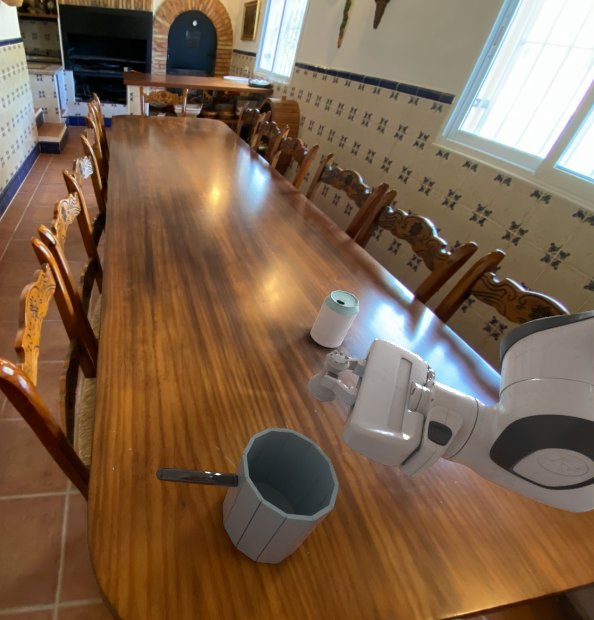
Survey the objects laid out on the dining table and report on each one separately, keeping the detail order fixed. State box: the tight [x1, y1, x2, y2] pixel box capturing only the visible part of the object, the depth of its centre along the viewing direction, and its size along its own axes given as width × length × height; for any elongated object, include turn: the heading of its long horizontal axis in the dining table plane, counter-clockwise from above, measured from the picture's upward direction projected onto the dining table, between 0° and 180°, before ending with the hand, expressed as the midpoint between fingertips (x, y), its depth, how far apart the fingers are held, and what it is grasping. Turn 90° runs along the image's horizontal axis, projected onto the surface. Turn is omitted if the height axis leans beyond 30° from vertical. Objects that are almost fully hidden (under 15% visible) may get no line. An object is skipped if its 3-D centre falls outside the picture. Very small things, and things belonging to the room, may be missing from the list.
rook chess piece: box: [307, 349, 350, 403], centre depth 53 cm, size 4×4×8 cm
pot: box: [155, 427, 340, 565], centre depth 47 cm, size 21×11×15 cm, turn 87°
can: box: [310, 290, 360, 349], centre depth 79 cm, size 7×7×12 cm
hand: (326, 367), depth 53 cm, fingers closed on rook chess piece, 3 cm apart
